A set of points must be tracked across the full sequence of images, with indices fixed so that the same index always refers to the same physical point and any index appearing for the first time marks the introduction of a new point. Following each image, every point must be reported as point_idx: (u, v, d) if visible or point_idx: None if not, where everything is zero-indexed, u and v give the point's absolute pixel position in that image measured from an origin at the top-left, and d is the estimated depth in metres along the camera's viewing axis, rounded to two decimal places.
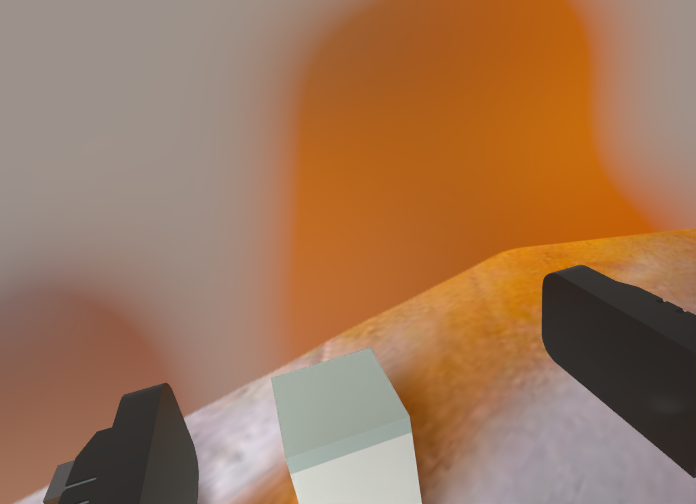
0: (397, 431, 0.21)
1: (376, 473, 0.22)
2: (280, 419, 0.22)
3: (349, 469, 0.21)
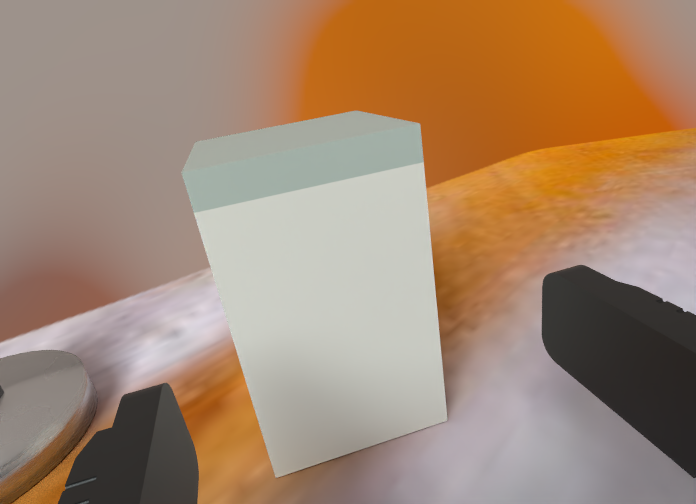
0: (396, 154, 0.12)
1: (359, 243, 0.12)
2: (192, 155, 0.13)
3: (309, 224, 0.12)
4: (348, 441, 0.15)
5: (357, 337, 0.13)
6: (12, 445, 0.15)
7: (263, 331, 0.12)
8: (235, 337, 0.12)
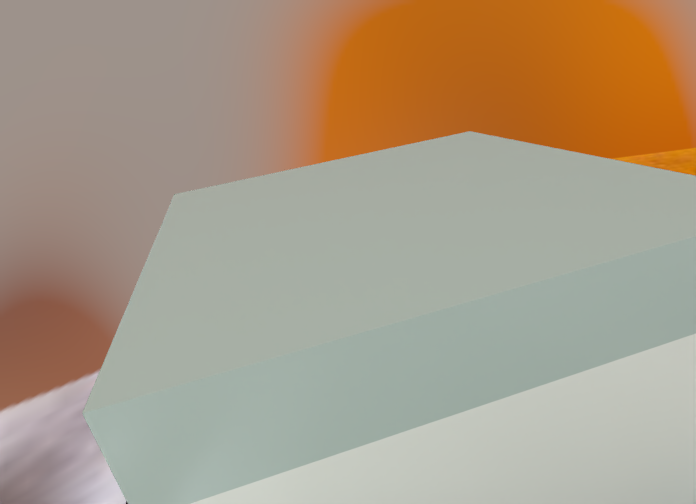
0: None
1: None
2: (153, 262, 0.05)
3: (482, 488, 0.04)
4: None
5: None
6: None
7: None
8: None
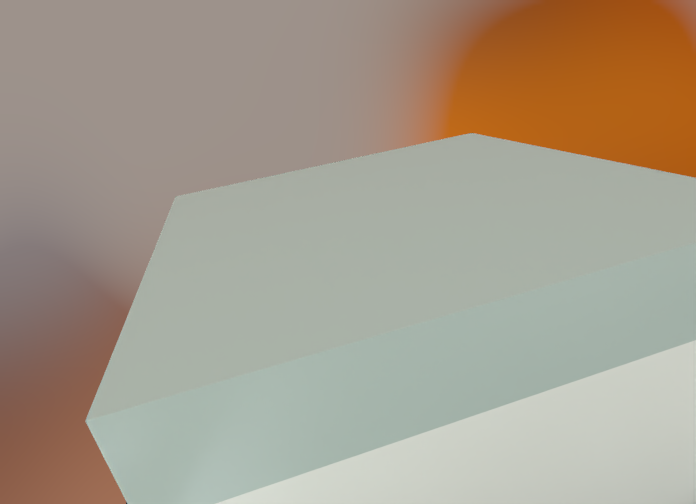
0: None
1: None
2: (155, 266, 0.05)
3: (487, 494, 0.04)
4: None
5: None
6: None
7: None
8: None
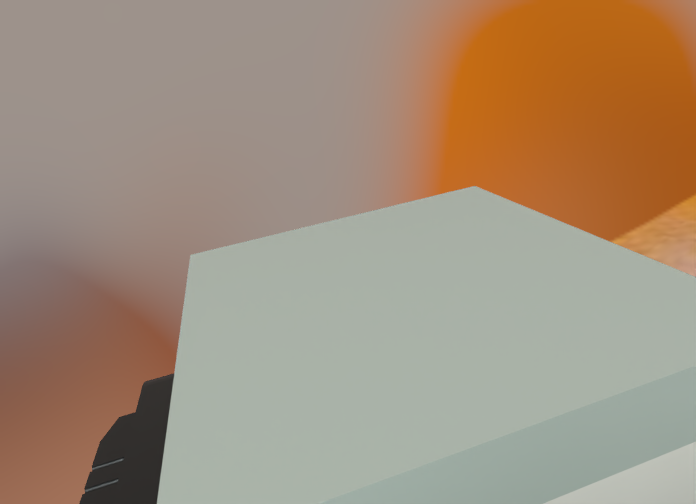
0: None
1: None
2: (184, 356, 0.05)
3: None
4: None
5: None
6: None
7: None
8: None
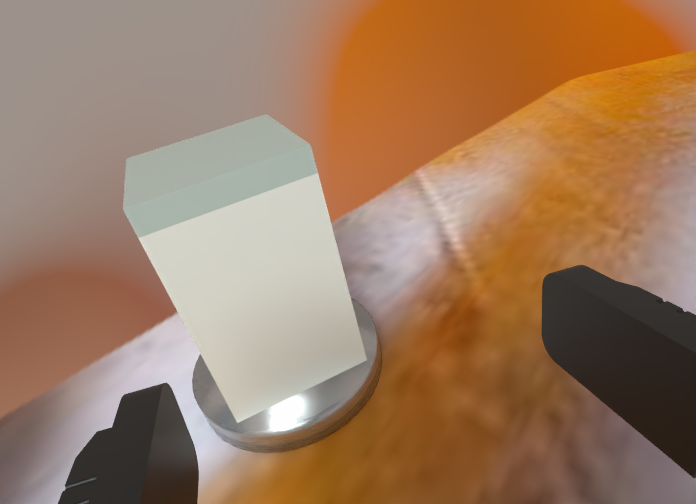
0: (295, 170, 0.15)
1: (276, 241, 0.15)
2: (127, 183, 0.15)
3: (233, 232, 0.15)
4: (291, 387, 0.19)
5: (285, 310, 0.17)
6: None
7: (209, 317, 0.16)
8: (187, 325, 0.16)
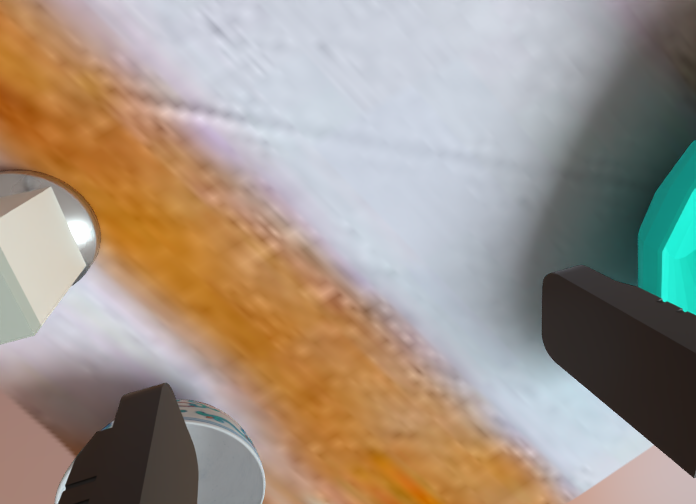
0: None
1: (22, 250, 0.25)
2: None
3: (26, 276, 0.24)
4: (69, 235, 0.31)
5: (45, 241, 0.27)
6: None
7: (57, 285, 0.27)
8: (62, 296, 0.28)
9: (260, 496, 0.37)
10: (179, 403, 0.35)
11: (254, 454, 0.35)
